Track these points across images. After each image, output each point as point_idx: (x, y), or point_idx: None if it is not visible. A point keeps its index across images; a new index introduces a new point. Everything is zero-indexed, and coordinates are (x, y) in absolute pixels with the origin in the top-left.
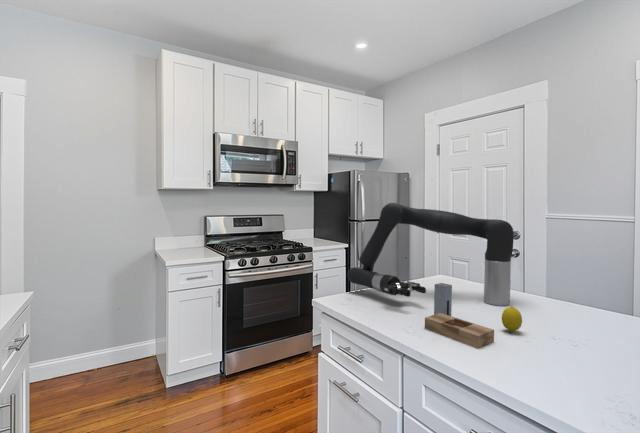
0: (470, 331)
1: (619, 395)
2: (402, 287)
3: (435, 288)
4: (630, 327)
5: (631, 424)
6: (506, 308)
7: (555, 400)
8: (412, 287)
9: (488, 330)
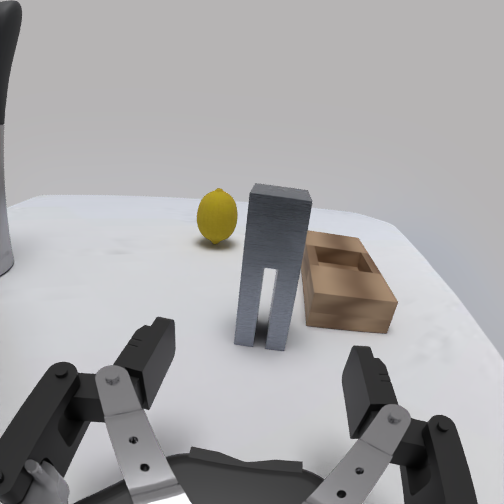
0: (355, 244)
1: (316, 210)
2: (291, 467)
3: (308, 220)
4: (85, 195)
5: (353, 212)
6: (220, 197)
7: (376, 227)
8: (64, 455)
9: (317, 233)
